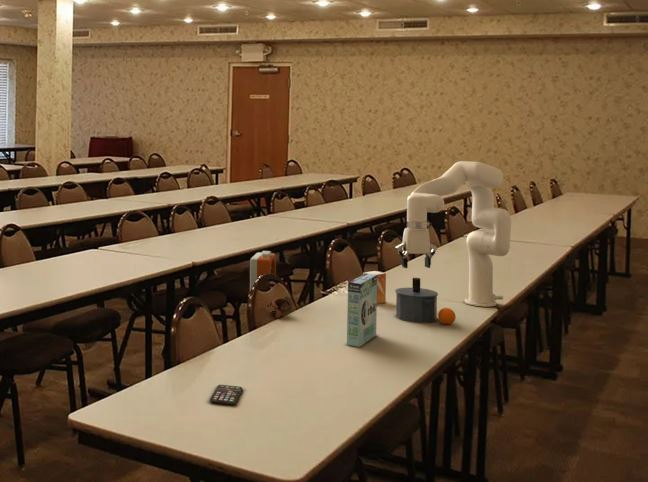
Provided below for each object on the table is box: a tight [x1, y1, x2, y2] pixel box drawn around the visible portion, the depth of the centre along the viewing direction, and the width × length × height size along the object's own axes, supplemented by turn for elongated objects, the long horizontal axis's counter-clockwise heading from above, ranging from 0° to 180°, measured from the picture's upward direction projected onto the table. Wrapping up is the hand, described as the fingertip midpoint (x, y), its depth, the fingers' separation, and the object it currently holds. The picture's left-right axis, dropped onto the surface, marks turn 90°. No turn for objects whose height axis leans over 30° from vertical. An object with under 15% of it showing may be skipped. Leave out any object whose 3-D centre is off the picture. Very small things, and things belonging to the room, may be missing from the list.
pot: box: [395, 292, 438, 324], centre depth 334 cm, size 15×21×10 cm
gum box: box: [346, 272, 378, 348], centre depth 301 cm, size 20×5×23 cm, turn 144°
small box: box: [362, 270, 387, 305], centre depth 362 cm, size 8×6×13 cm
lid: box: [394, 277, 439, 298], centre depth 334 cm, size 16×16×7 cm
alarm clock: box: [249, 250, 277, 292], centre depth 373 cm, size 18×9×21 cm, turn 160°
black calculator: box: [209, 384, 243, 406], centre depth 242 cm, size 7×1×15 cm
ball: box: [437, 307, 456, 326], centre depth 324 cm, size 6×6×6 cm
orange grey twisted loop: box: [270, 297, 293, 319], centre depth 337 cm, size 12×10×8 cm
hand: (416, 267), depth 334 cm, fingers open, 9 cm apart
